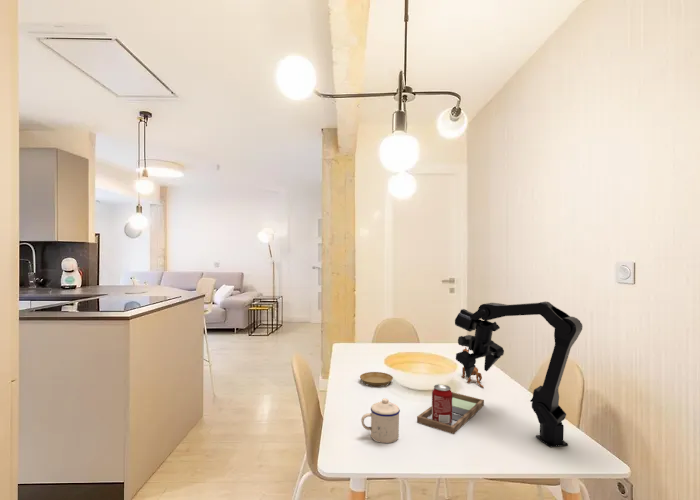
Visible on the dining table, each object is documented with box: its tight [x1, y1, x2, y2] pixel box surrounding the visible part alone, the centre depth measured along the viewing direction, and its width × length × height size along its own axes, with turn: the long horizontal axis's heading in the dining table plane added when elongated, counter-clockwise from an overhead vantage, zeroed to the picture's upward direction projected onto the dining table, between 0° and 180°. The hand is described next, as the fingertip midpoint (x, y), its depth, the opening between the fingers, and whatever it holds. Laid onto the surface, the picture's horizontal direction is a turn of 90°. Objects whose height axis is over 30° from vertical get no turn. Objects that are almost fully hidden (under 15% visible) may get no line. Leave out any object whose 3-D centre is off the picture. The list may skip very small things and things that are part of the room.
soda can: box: [431, 383, 453, 425], centre depth 128 cm, size 7×7×12 cm
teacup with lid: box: [360, 398, 401, 444], centre depth 117 cm, size 12×9×12 cm
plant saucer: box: [359, 371, 394, 388], centre depth 167 cm, size 15×15×3 cm
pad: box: [452, 398, 476, 411], centre depth 143 cm, size 8×11×1 cm
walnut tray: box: [416, 391, 485, 435], centre depth 135 cm, size 30×13×2 cm, turn 143°
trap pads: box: [452, 406, 468, 422], centre depth 135 cm, size 11×11×1 cm
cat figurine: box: [461, 346, 485, 388], centre depth 170 cm, size 18×7×14 cm, turn 12°
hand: (476, 373), depth 138 cm, fingers open, 9 cm apart
